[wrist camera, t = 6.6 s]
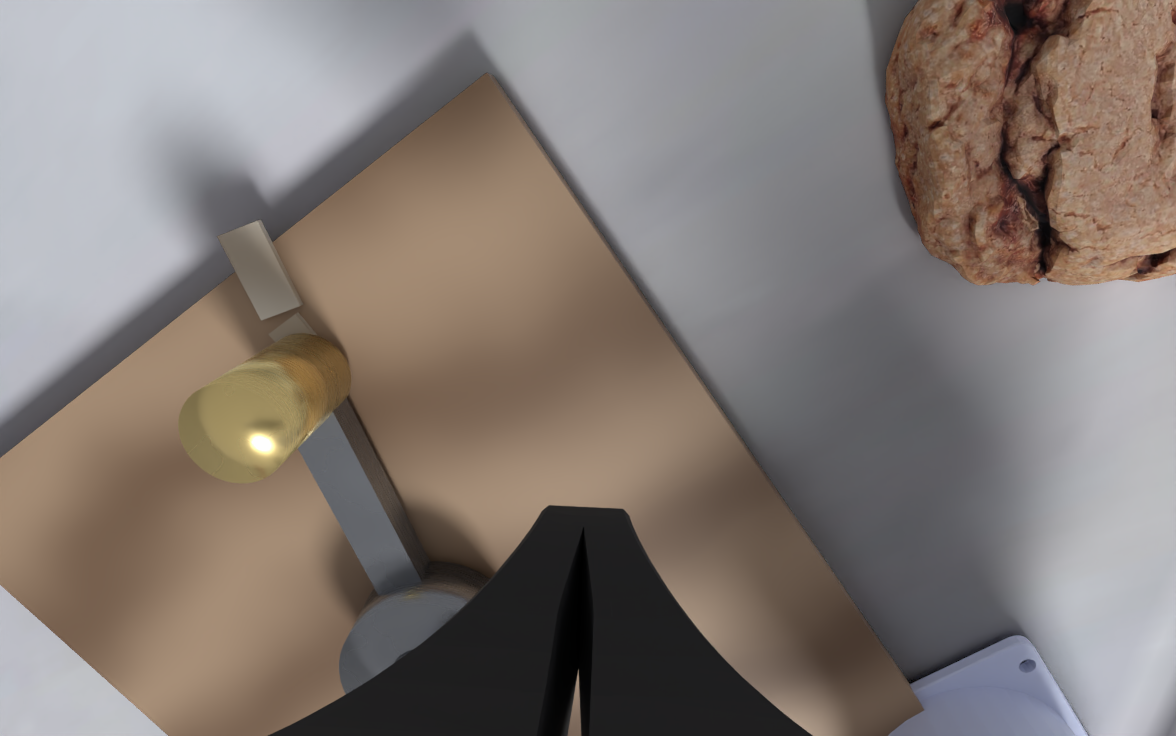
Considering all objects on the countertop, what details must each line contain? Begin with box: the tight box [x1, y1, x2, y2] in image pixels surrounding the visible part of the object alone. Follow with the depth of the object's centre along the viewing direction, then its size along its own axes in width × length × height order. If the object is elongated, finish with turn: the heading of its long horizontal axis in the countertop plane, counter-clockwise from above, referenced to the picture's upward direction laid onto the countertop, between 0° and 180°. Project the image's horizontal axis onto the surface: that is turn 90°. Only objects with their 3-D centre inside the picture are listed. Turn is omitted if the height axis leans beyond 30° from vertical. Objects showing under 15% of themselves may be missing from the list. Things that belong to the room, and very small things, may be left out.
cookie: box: [885, 0, 1176, 285], centre depth 16 cm, size 10×11×3 cm
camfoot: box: [178, 333, 490, 694], centre depth 19 cm, size 13×5×4 cm, turn 20°
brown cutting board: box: [0, 73, 924, 736], centre depth 22 cm, size 25×22×1 cm
